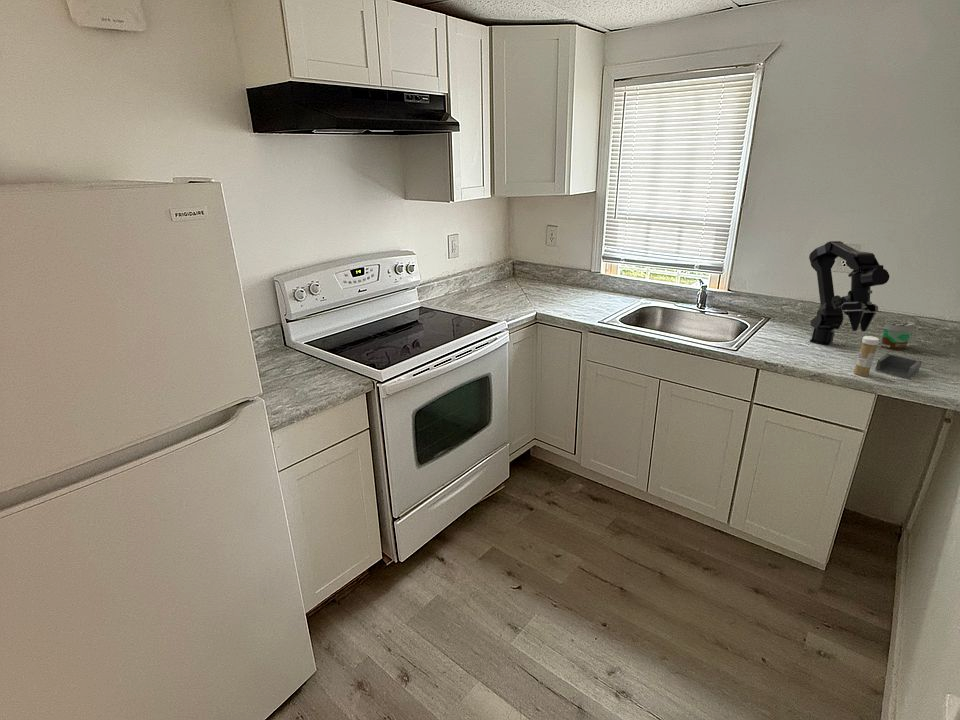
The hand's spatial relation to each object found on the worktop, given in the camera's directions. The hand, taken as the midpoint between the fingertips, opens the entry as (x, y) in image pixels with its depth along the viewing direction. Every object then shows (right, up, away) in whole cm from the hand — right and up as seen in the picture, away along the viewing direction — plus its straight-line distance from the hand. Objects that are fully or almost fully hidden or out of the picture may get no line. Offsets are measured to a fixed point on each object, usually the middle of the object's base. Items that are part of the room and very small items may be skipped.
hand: (859, 331), depth 187 cm
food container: (+26, -6, +15) cm, 31 cm away
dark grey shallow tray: (+9, -14, -5) cm, 18 cm away
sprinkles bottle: (-4, -16, -7) cm, 17 cm away
